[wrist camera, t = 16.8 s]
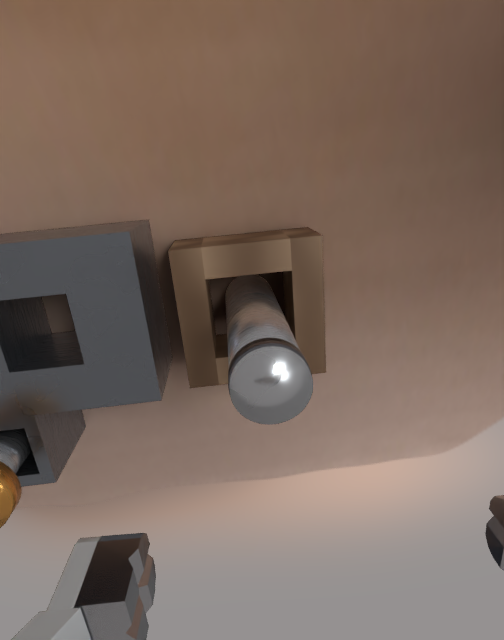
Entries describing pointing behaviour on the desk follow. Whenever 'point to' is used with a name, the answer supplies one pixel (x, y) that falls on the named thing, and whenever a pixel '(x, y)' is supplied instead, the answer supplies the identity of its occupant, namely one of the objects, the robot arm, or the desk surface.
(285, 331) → the cylindrical peg
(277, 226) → the desk surface
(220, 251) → the square frame block
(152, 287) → the socket block
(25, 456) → the gold knob
